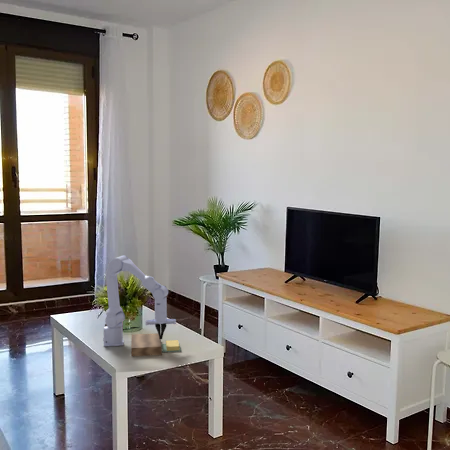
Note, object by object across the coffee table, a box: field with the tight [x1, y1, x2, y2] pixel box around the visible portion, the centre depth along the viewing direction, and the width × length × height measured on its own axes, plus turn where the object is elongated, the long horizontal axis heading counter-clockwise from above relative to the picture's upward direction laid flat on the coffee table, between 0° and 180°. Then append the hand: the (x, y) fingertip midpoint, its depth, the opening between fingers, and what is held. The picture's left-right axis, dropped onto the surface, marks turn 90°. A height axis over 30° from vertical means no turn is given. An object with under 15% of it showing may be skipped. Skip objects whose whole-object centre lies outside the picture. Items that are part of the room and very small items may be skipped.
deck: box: [130, 332, 163, 357], centre depth 248 cm, size 14×20×4 cm
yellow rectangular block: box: [165, 339, 179, 351], centre depth 249 cm, size 6×9×2 cm, turn 9°
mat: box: [161, 343, 182, 353], centre depth 249 cm, size 9×11×1 cm
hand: (160, 338), depth 248 cm, fingers closed
